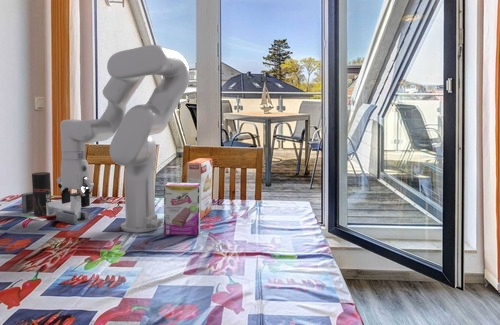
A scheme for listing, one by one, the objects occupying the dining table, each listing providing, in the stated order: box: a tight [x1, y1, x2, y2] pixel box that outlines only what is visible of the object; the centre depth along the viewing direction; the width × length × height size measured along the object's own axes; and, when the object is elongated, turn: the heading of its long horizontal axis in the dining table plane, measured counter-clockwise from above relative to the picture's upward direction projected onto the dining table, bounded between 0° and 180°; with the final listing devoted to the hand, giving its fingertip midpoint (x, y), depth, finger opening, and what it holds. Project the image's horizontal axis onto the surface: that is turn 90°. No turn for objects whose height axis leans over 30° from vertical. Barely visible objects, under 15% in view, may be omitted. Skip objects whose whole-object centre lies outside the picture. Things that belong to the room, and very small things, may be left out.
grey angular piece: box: [46, 192, 82, 219], centre depth 147 cm, size 13×6×9 cm, turn 62°
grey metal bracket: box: [55, 210, 92, 226], centre depth 146 cm, size 10×6×3 cm, turn 62°
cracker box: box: [186, 157, 214, 221], centre depth 155 cm, size 14×6×21 cm, turn 168°
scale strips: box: [31, 216, 48, 222], centre depth 151 cm, size 6×13×1 cm, turn 152°
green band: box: [20, 213, 36, 220], centre depth 154 cm, size 6×13×1 cm, turn 152°
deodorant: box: [31, 171, 52, 217], centre depth 153 cm, size 6×6×15 cm
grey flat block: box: [20, 191, 34, 214], centre depth 156 cm, size 2×6×7 cm, turn 152°
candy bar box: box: [163, 182, 201, 237], centre depth 133 cm, size 11×5×16 cm, turn 92°
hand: (75, 204), depth 145 cm, fingers open, 9 cm apart
